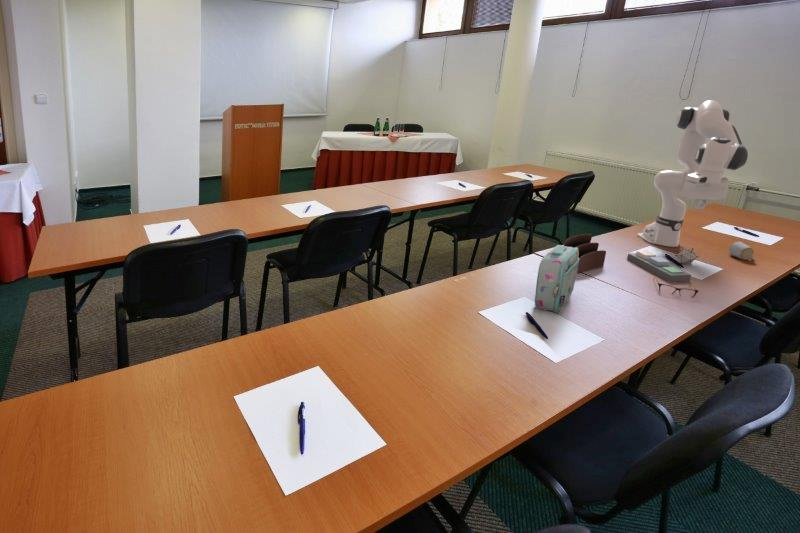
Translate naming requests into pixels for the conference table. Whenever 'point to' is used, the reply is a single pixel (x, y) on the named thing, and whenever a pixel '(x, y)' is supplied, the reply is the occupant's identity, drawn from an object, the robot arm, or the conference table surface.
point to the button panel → (659, 269)
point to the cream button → (645, 254)
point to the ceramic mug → (741, 251)
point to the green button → (672, 270)
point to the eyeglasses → (678, 288)
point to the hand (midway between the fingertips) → (699, 209)
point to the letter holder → (586, 252)
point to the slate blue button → (658, 261)
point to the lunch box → (556, 278)
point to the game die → (686, 256)
